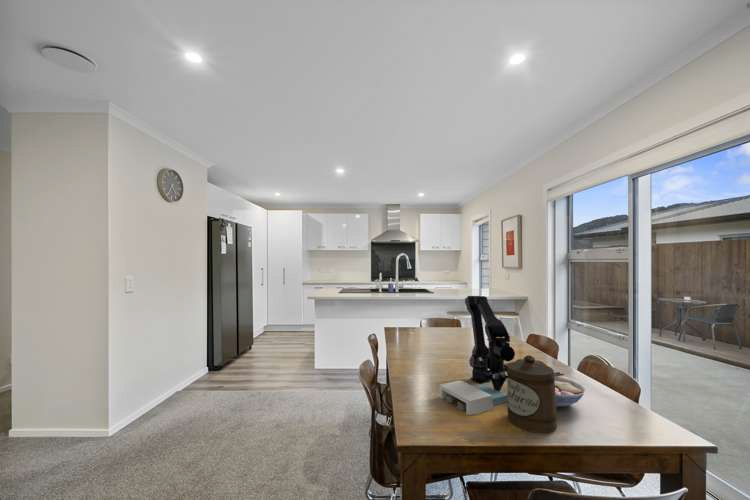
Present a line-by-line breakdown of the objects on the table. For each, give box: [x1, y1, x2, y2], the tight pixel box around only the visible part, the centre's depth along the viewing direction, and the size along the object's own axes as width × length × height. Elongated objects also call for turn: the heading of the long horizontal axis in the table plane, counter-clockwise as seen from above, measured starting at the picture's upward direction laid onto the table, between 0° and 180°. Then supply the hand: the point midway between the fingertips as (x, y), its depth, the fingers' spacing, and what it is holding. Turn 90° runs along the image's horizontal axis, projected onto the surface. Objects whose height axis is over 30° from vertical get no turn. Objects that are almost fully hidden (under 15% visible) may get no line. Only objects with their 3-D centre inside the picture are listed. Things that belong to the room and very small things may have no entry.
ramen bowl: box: [554, 371, 587, 408], centre depth 120 cm, size 25×23×8 cm
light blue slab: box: [474, 384, 507, 406], centre depth 124 cm, size 10×12×2 cm
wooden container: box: [506, 354, 558, 434], centre depth 105 cm, size 15×15×22 cm
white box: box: [438, 380, 494, 416], centre depth 119 cm, size 11×17×5 cm, turn 25°
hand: (497, 392), depth 127 cm, fingers closed
